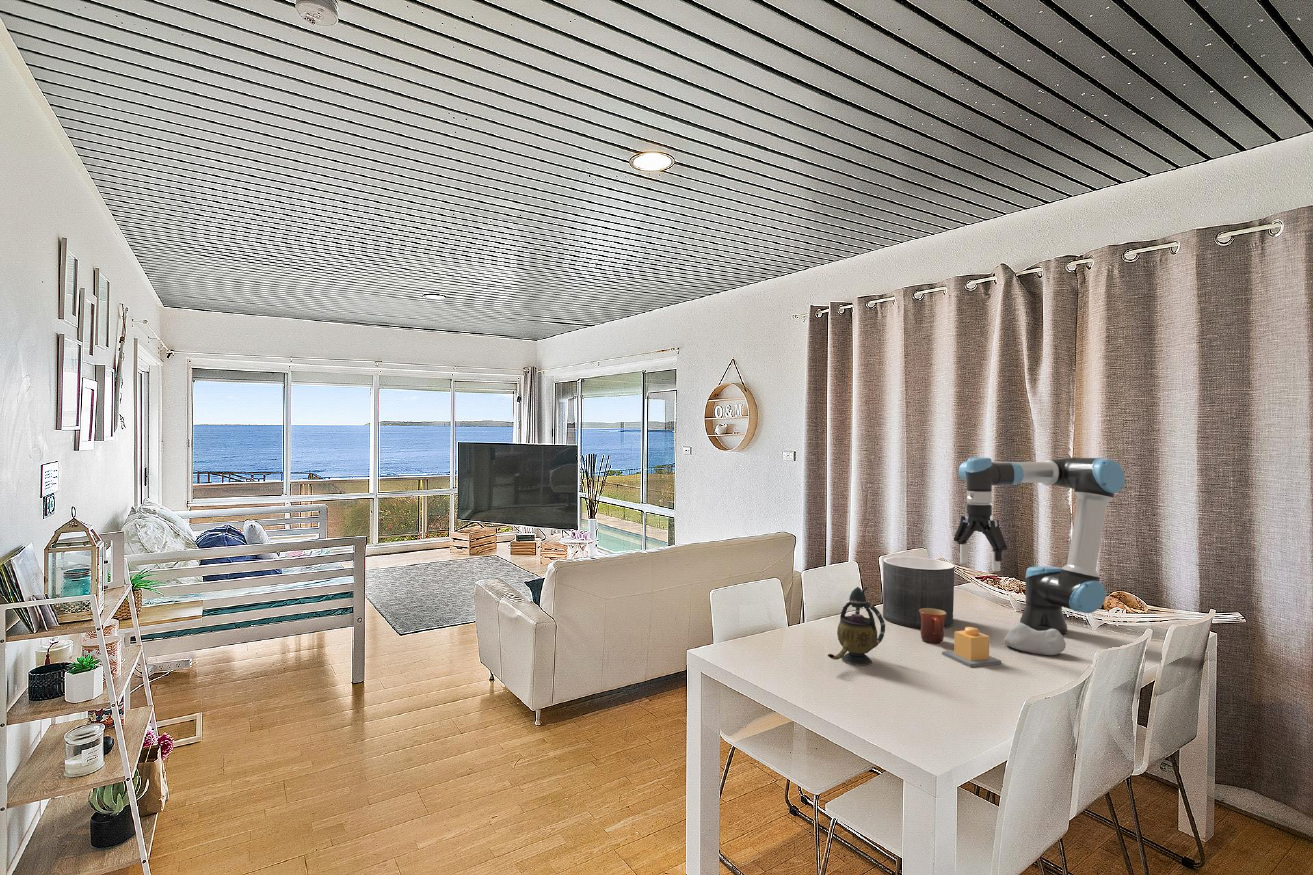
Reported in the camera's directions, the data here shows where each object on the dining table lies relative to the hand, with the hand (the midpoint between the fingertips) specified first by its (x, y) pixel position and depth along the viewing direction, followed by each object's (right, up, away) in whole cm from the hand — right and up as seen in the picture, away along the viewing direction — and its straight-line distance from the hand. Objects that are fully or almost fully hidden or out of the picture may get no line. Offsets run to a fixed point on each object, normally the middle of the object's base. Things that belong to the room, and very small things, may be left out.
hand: (979, 567), depth 216 cm
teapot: (-48, -26, -18) cm, 58 cm away
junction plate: (-8, -27, -12) cm, 30 cm away
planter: (-8, -27, +33) cm, 43 cm away
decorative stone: (+17, -28, -2) cm, 33 cm away
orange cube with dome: (-8, -26, -12) cm, 29 cm away
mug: (-14, -27, +5) cm, 31 cm away
